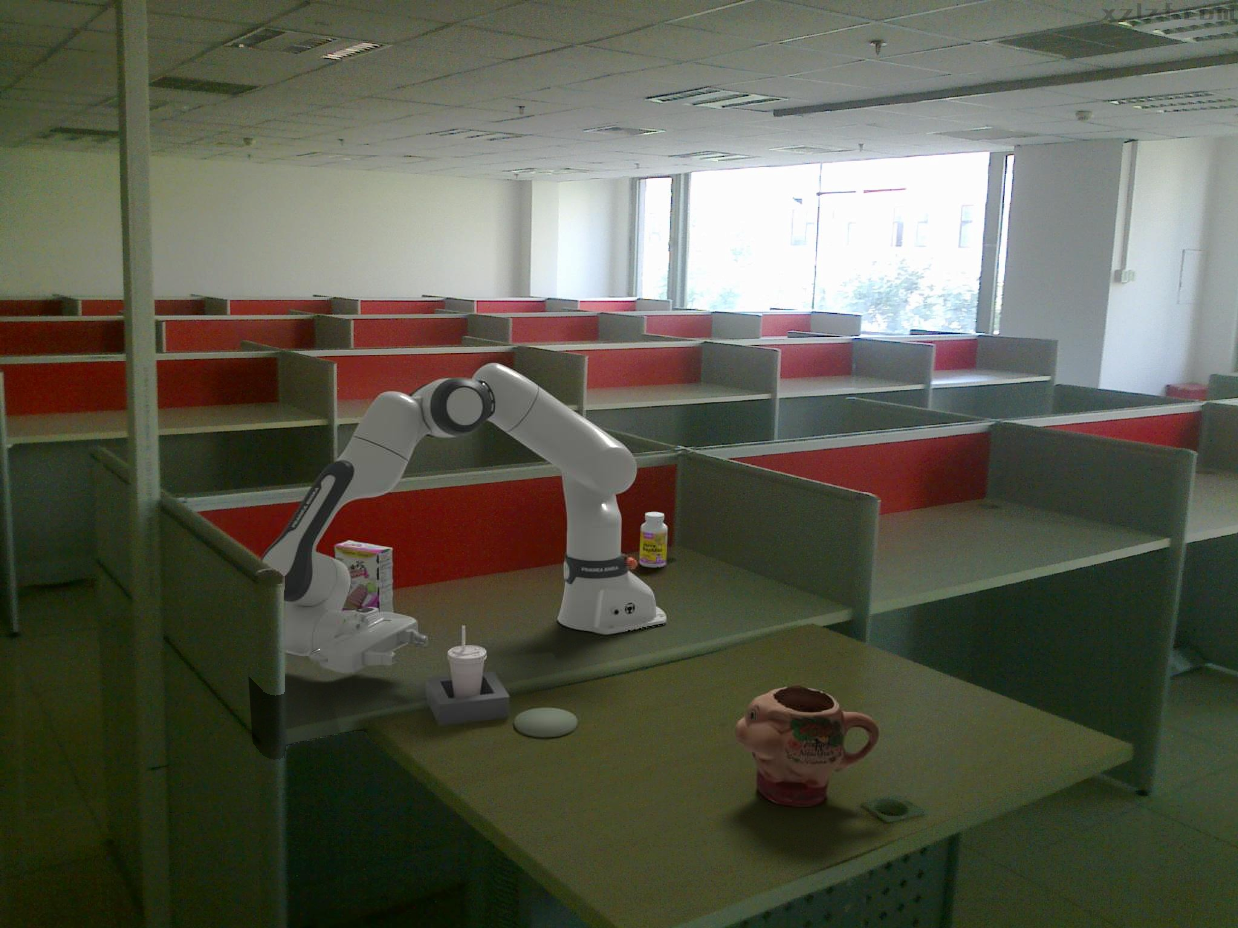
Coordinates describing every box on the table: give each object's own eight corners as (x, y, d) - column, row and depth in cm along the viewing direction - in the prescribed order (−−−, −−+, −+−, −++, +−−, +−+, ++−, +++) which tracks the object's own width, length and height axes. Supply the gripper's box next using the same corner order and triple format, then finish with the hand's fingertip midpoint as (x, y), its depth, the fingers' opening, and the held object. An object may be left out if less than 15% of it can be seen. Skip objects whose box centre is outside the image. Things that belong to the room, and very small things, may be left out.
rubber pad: (566, 707, 176) (566, 704, 176) (585, 732, 167) (585, 729, 167) (507, 715, 173) (507, 711, 173) (523, 740, 164) (523, 737, 164)
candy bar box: (334, 623, 214) (332, 544, 211) (350, 616, 219) (348, 539, 216) (379, 632, 210) (378, 552, 207) (394, 625, 214) (393, 546, 211)
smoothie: (448, 699, 179) (448, 619, 176) (487, 699, 179) (487, 619, 177) (445, 715, 172) (445, 632, 170) (485, 715, 173) (486, 632, 170)
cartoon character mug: (859, 770, 157) (866, 681, 154) (885, 812, 145) (893, 716, 143) (725, 771, 156) (729, 681, 153) (740, 813, 144) (745, 716, 141)
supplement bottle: (637, 567, 261) (638, 516, 258) (641, 560, 267) (642, 510, 265) (664, 569, 260) (666, 517, 257) (667, 562, 266) (669, 511, 264)
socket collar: (492, 690, 183) (493, 670, 182) (509, 716, 172) (509, 696, 172) (425, 697, 179) (425, 678, 178) (438, 725, 168) (438, 704, 168)
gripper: (301, 638, 174) (372, 652, 169) (377, 603, 192) (442, 615, 187) (303, 675, 175) (372, 689, 170) (377, 637, 194) (442, 649, 188)
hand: (409, 650), depth 179 cm, fingers open, 8 cm apart
